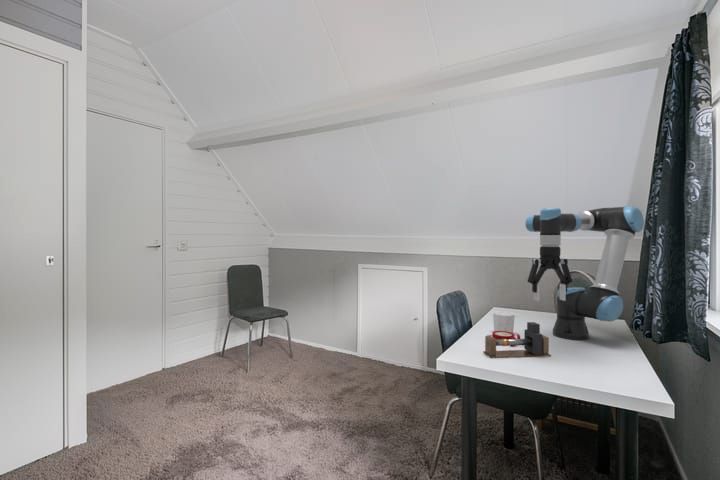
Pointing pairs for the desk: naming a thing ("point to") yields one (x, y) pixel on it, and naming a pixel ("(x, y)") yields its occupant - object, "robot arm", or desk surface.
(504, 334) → the alarm clock
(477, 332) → the desk surface
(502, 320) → the cup
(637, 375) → the desk surface
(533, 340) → the dark grey stepped block
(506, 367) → the desk surface
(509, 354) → the rail
